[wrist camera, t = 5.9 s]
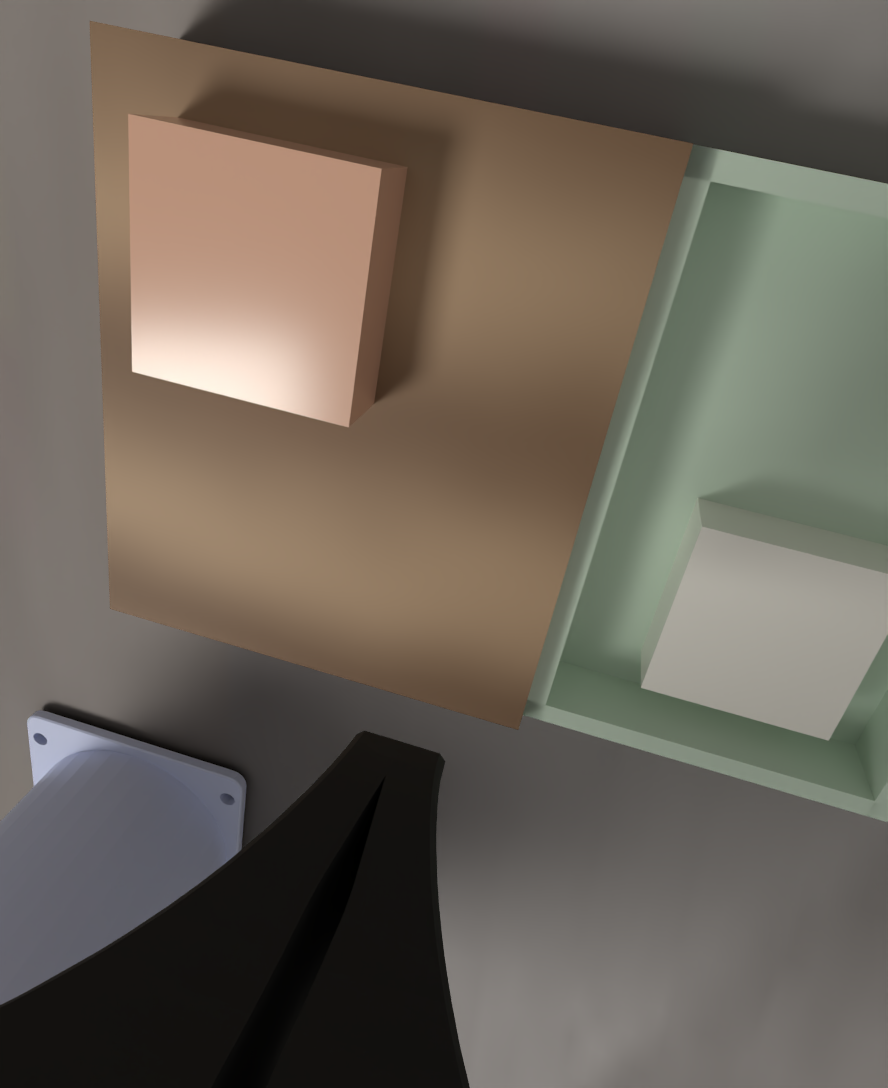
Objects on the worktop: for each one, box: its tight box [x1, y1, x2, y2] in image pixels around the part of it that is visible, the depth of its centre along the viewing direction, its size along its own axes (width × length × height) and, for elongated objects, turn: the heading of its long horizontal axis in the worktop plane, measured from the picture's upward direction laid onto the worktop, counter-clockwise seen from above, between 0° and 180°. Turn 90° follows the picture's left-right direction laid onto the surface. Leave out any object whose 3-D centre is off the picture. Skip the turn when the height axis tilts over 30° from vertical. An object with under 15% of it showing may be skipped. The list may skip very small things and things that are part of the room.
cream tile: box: [641, 498, 888, 741], centre depth 18 cm, size 4×4×2 cm
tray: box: [523, 144, 888, 822], centre depth 17 cm, size 13×9×2 cm
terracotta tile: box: [128, 114, 408, 427], centre depth 15 cm, size 4×4×2 cm
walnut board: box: [90, 21, 693, 730], centre depth 18 cm, size 13×11×3 cm
